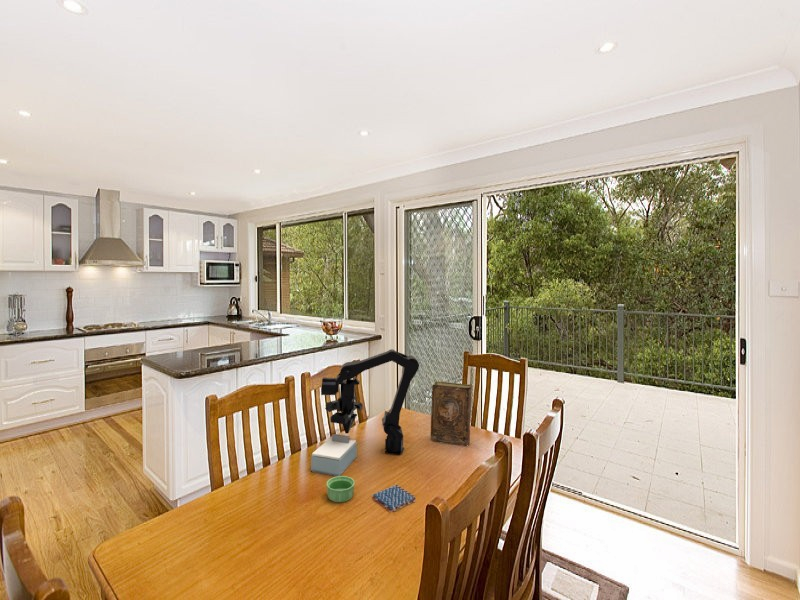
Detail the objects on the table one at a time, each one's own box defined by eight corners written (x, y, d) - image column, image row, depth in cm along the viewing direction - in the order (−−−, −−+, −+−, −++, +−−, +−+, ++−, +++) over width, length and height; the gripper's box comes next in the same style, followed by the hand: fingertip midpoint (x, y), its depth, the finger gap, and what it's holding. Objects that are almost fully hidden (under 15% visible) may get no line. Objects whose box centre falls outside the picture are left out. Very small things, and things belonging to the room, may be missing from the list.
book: (470, 441, 174) (472, 384, 172) (468, 446, 168) (470, 388, 167) (433, 436, 178) (434, 381, 177) (430, 441, 173) (432, 384, 172)
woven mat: (370, 499, 128) (370, 493, 128) (395, 489, 135) (396, 483, 135) (390, 515, 120) (391, 508, 120) (417, 503, 127) (417, 497, 127)
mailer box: (330, 452, 160) (331, 439, 159) (356, 456, 157) (356, 443, 156) (311, 471, 144) (311, 456, 144) (339, 476, 141) (339, 461, 141)
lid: (331, 438, 159) (331, 431, 159) (356, 442, 156) (356, 434, 156) (312, 455, 144) (312, 446, 144) (339, 459, 141) (339, 451, 141)
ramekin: (320, 498, 127) (320, 485, 127) (337, 485, 135) (337, 473, 135) (343, 506, 123) (343, 493, 123) (359, 493, 131) (360, 480, 131)
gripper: (339, 386, 171) (338, 422, 172) (318, 399, 153) (317, 439, 154) (363, 389, 168) (362, 425, 169) (345, 402, 150) (344, 443, 151)
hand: (346, 433), depth 160 cm, fingers closed
